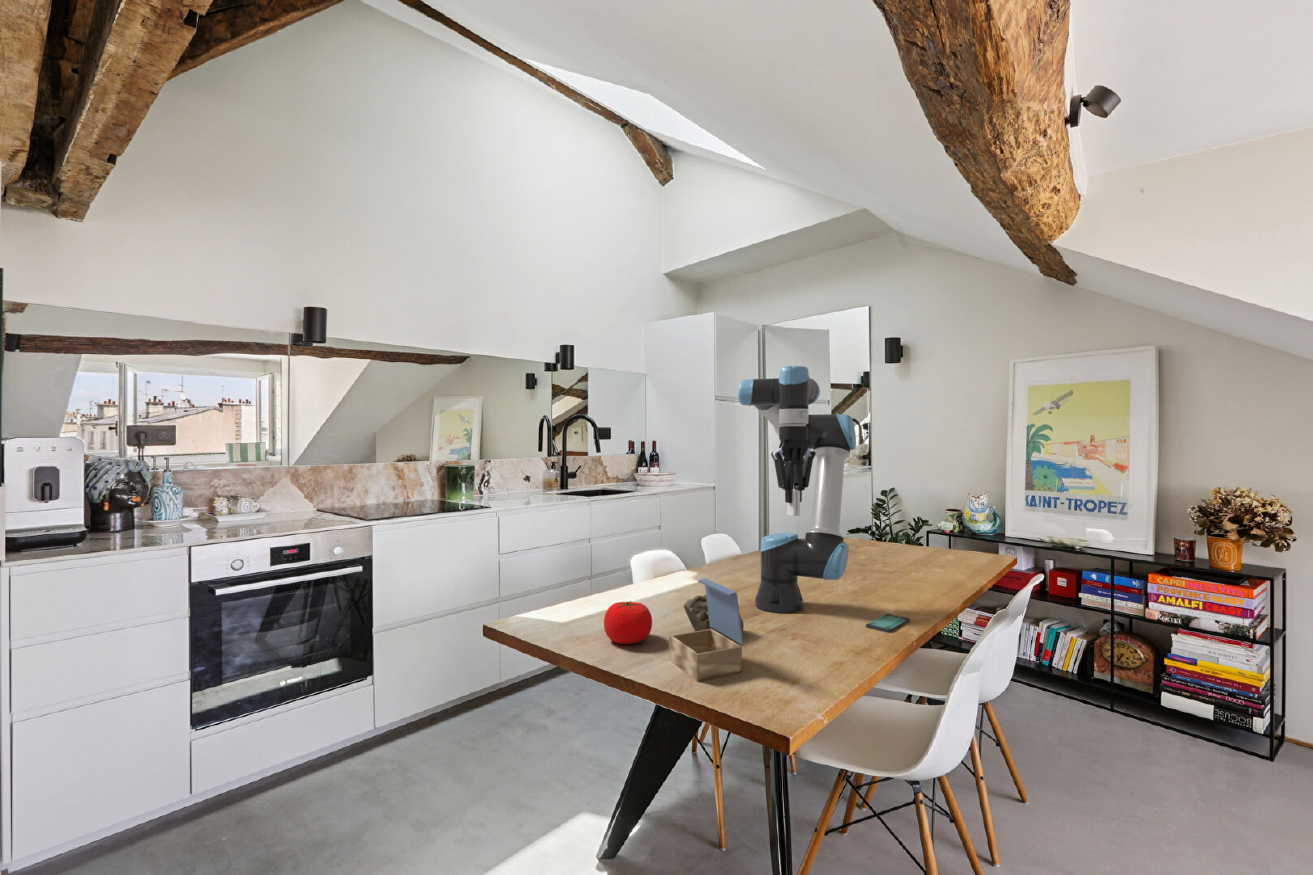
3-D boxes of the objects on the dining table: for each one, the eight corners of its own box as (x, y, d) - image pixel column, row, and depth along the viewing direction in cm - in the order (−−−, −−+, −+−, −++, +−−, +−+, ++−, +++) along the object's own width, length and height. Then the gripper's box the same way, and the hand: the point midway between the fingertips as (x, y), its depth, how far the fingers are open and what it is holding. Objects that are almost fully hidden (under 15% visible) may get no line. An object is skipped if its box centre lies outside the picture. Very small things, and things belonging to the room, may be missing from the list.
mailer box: (669, 659, 148) (669, 635, 148) (711, 651, 153) (711, 628, 153) (697, 681, 135) (697, 654, 135) (741, 672, 140) (741, 646, 140)
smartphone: (910, 617, 178) (889, 629, 167) (910, 622, 178) (889, 634, 167) (886, 612, 183) (864, 623, 173) (886, 616, 183) (864, 628, 173)
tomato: (597, 634, 166) (597, 597, 166) (641, 629, 171) (641, 592, 170) (612, 652, 153) (612, 612, 153) (659, 646, 157) (659, 606, 157)
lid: (698, 580, 151) (705, 578, 152) (704, 627, 152) (711, 625, 153) (729, 594, 138) (736, 591, 139) (735, 646, 139) (743, 643, 140)
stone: (695, 603, 157) (727, 575, 167) (675, 608, 163) (707, 581, 173) (725, 657, 156) (755, 625, 167) (703, 660, 162) (734, 629, 173)
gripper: (781, 425, 151) (781, 518, 151) (823, 425, 157) (823, 515, 157) (763, 425, 158) (763, 514, 158) (805, 425, 164) (804, 511, 164)
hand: (793, 515), depth 158 cm, fingers closed
